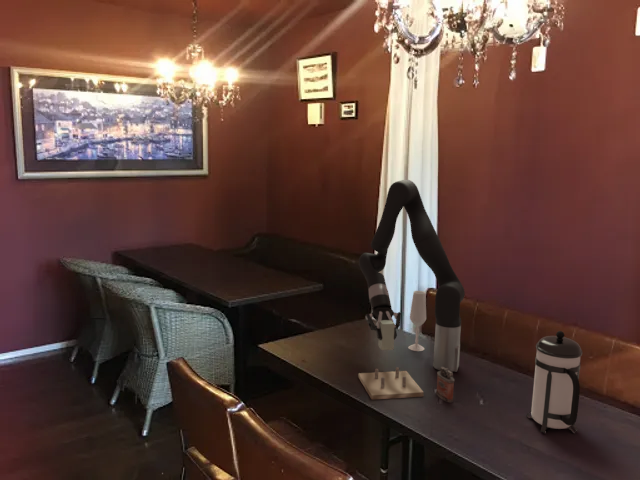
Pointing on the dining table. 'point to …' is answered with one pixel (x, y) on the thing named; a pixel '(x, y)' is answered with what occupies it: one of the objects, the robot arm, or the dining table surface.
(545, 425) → the coffee press
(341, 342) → the dining table surface
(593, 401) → the dining table surface
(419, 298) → the champagne flute
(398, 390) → the peg board
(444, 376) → the lighter
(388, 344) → the sage block
